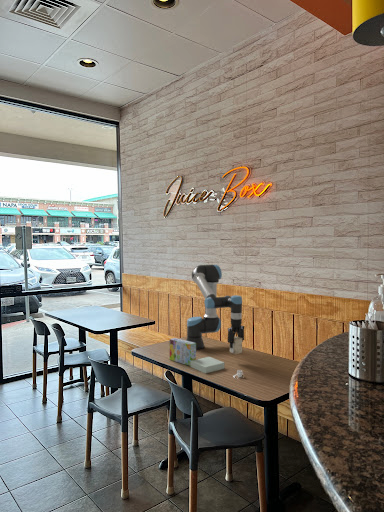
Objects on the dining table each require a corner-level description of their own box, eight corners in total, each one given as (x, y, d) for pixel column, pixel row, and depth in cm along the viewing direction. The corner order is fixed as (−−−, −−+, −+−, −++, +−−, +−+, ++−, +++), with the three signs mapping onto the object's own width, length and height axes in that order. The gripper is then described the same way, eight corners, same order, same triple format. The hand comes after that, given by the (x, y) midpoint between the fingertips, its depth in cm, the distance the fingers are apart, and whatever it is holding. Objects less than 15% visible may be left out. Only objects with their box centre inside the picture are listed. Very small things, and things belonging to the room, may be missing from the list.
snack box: (196, 364, 268) (196, 342, 267) (190, 366, 264) (190, 344, 263) (174, 358, 282) (174, 337, 281) (168, 359, 278) (168, 338, 277)
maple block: (229, 351, 272) (229, 337, 271) (236, 350, 275) (236, 336, 274) (235, 354, 267) (235, 339, 266) (242, 352, 270) (242, 338, 270)
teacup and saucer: (238, 373, 250) (238, 367, 250) (249, 376, 245) (249, 370, 245) (230, 377, 243) (230, 371, 243) (241, 380, 238) (241, 374, 238)
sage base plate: (190, 366, 263) (190, 360, 263) (209, 362, 272) (209, 356, 272) (205, 373, 250) (205, 367, 250) (224, 368, 259) (224, 362, 259)
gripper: (229, 321, 261) (229, 355, 262) (250, 317, 272) (249, 350, 274) (222, 319, 267) (221, 352, 268) (242, 315, 278) (242, 347, 280)
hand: (235, 351), depth 271 cm, fingers closed on maple block, 6 cm apart
